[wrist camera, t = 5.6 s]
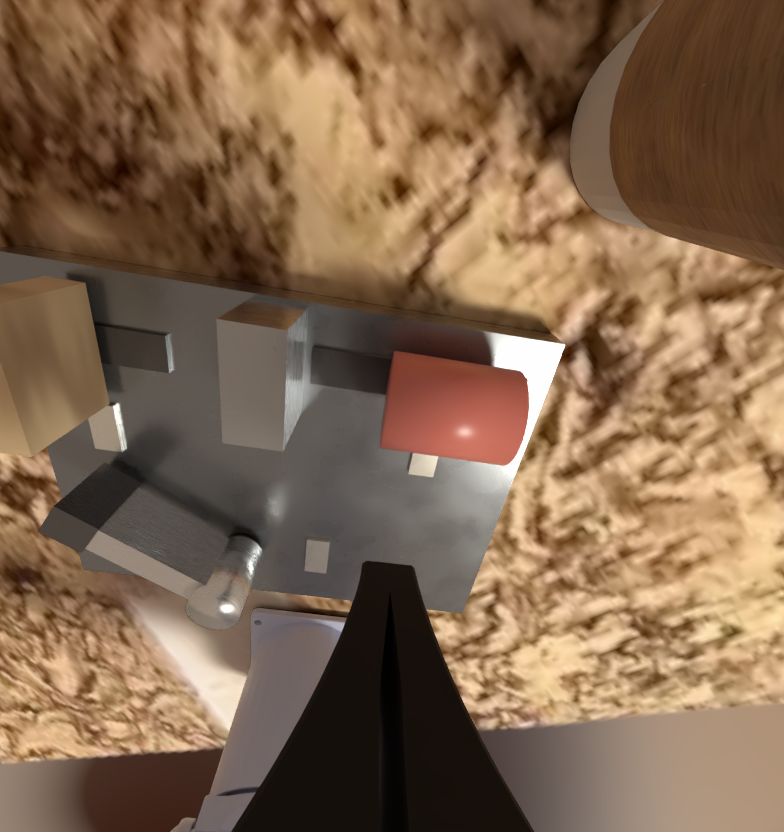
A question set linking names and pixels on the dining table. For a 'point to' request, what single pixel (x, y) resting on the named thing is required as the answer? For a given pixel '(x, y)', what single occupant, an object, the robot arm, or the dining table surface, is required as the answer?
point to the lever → (158, 545)
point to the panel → (317, 446)
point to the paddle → (46, 363)
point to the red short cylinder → (454, 409)
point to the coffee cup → (691, 127)
